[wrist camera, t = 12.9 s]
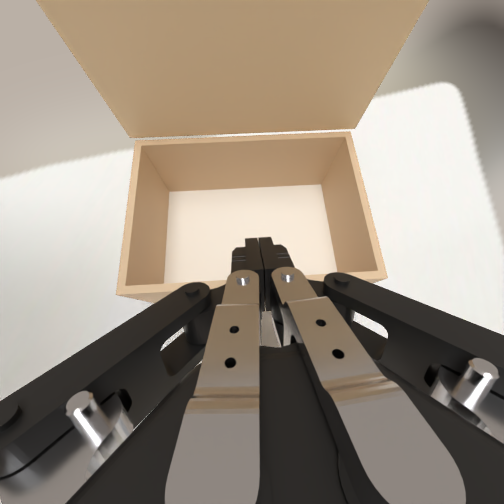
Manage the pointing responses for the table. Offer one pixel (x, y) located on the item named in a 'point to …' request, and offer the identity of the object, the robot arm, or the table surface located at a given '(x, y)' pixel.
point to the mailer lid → (234, 60)
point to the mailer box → (244, 209)
